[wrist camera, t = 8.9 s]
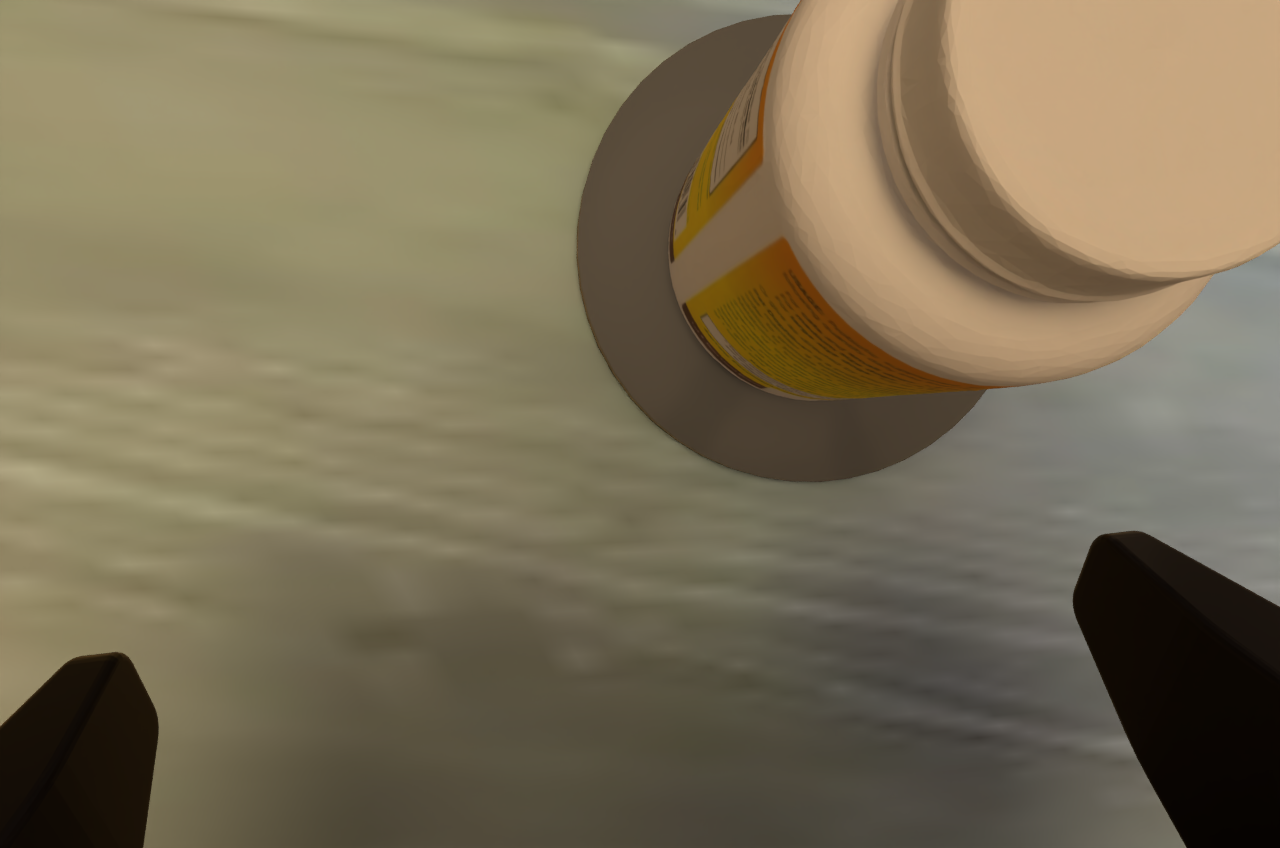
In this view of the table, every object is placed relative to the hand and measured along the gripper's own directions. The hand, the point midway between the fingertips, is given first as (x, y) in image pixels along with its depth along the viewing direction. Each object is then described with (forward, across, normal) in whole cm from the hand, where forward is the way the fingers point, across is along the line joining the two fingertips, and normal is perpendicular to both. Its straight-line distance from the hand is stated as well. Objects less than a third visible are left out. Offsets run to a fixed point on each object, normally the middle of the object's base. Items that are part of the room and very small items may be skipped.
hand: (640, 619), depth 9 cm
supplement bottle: (+10, -5, +2) cm, 11 cm away
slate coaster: (+10, -5, +2) cm, 12 cm away
